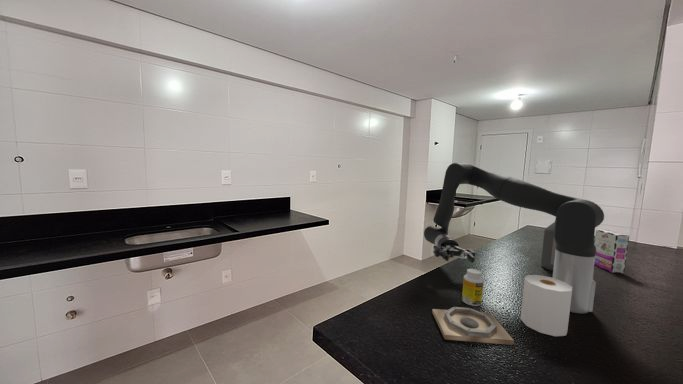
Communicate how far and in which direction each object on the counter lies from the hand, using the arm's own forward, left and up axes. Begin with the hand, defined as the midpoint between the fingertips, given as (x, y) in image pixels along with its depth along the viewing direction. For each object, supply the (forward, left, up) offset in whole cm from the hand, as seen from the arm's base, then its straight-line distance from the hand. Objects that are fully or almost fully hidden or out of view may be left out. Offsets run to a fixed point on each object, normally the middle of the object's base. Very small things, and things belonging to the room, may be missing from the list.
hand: (460, 259), depth 94 cm
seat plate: (+6, +25, -10) cm, 28 cm away
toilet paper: (-15, +21, -10) cm, 28 cm away
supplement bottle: (0, +11, -10) cm, 15 cm away
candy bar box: (-73, -29, -10) cm, 79 cm away
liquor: (-49, -25, -10) cm, 56 cm away
